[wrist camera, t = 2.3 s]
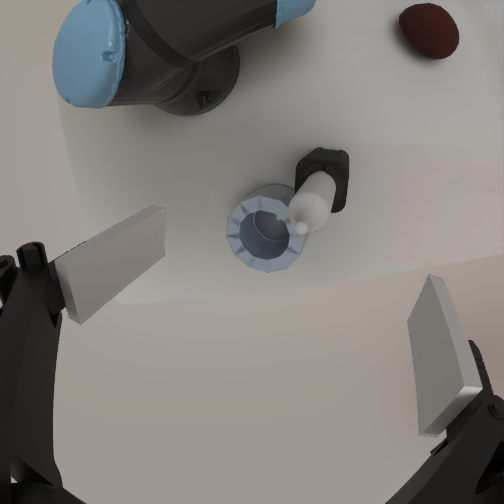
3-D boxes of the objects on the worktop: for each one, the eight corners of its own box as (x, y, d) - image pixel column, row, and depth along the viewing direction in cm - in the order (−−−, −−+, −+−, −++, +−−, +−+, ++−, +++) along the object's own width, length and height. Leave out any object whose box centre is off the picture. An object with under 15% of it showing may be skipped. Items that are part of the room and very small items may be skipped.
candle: (309, 182, 40) (256, 262, 19) (312, 146, 38) (258, 182, 16) (346, 187, 39) (337, 276, 17) (349, 150, 36) (350, 193, 15)
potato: (440, 73, 27) (459, 63, 21) (387, 44, 28) (395, 27, 22) (454, 31, 23) (473, 16, 17) (403, 3, 24) (412, -19, 18)
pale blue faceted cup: (242, 239, 47) (223, 260, 41) (249, 178, 43) (230, 189, 36) (304, 255, 45) (295, 279, 39) (317, 192, 40) (310, 207, 34)
